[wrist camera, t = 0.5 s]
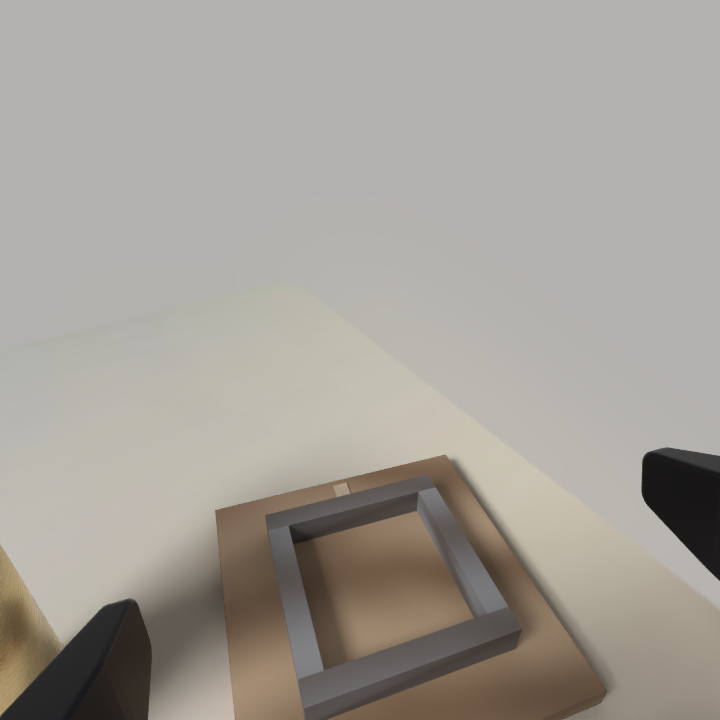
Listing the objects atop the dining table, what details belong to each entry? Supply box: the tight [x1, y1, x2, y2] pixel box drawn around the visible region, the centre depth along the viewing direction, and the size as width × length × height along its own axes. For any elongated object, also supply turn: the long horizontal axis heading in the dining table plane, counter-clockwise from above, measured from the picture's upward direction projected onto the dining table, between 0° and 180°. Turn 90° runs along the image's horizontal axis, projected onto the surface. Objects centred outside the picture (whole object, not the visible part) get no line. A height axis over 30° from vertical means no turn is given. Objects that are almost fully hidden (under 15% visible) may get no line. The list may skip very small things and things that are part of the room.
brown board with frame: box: [215, 455, 607, 720], centre depth 23 cm, size 14×14×2 cm
